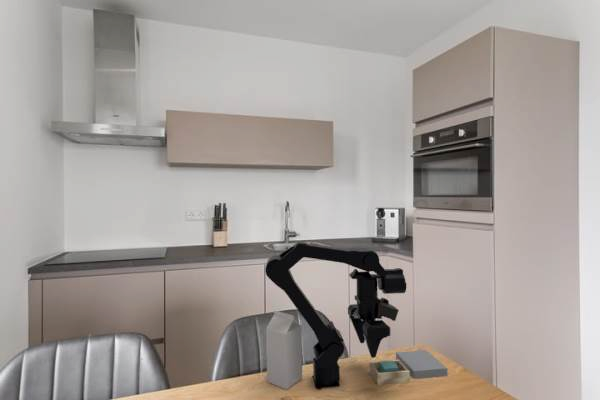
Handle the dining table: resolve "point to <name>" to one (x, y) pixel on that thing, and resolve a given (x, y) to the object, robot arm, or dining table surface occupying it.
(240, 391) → the dining table surface
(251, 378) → the dining table surface
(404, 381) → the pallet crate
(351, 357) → the dining table surface
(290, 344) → the milk carton
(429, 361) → the block
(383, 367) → the cargo block
